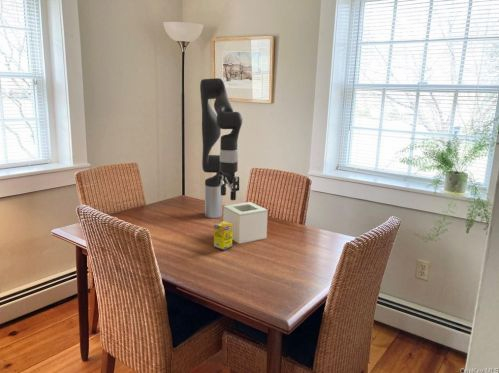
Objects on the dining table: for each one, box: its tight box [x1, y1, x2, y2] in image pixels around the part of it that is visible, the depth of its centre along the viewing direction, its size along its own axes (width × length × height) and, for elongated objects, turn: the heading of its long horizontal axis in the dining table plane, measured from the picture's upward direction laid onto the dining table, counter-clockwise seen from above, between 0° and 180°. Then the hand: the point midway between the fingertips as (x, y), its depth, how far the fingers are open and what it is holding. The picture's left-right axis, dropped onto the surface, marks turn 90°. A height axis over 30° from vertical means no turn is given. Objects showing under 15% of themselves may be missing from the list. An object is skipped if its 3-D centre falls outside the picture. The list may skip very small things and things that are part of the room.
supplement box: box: [213, 220, 233, 252], centre depth 179 cm, size 6×6×11 cm
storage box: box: [222, 201, 269, 245], centre depth 194 cm, size 15×15×14 cm
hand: (228, 197), depth 176 cm, fingers open, 8 cm apart
